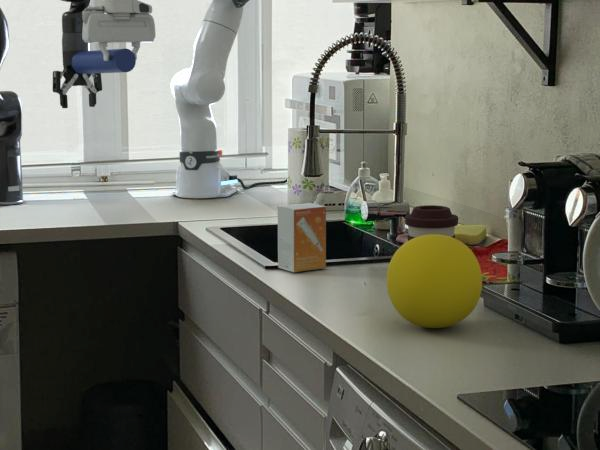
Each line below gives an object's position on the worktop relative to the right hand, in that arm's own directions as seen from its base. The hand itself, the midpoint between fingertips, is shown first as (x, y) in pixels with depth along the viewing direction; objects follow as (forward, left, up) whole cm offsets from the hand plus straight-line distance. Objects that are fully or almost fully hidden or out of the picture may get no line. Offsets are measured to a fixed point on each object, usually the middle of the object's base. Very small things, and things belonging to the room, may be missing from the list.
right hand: (120, 60), depth 275 cm
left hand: (-12, -21, -13) cm, 28 cm away
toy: (+83, +104, -42) cm, 139 cm away
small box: (+47, +68, -42) cm, 93 cm away
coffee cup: (+54, +97, -42) cm, 119 cm away
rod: (-5, -8, -3) cm, 10 cm away
